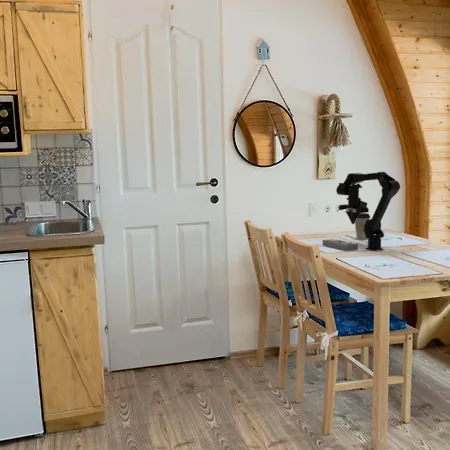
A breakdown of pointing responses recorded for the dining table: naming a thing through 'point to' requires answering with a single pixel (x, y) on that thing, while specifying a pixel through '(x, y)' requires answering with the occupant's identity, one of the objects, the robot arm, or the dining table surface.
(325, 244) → the rocker switch box
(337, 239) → the rocker far
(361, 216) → the coffee cup
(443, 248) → the dining table surface
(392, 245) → the dining table surface
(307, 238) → the dining table surface
